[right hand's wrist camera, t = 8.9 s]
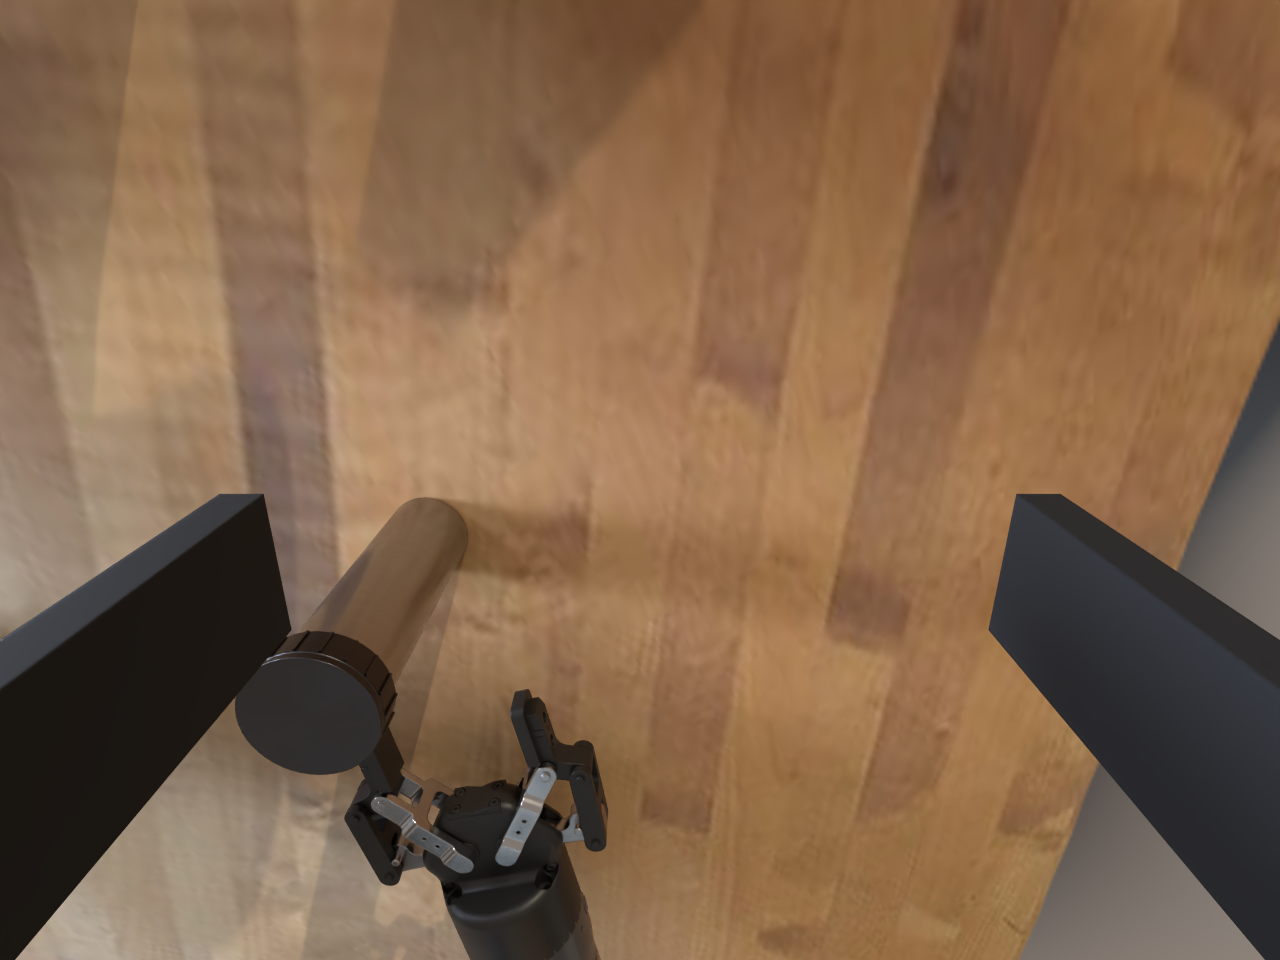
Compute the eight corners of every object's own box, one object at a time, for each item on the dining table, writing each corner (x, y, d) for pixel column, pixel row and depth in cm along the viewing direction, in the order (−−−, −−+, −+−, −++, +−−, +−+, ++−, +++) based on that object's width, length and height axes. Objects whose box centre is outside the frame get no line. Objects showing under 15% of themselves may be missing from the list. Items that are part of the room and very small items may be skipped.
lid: (379, 622, 27) (361, 649, 25) (411, 738, 29) (397, 770, 27) (239, 635, 27) (212, 663, 25) (280, 749, 29) (259, 782, 27)
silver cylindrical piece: (459, 493, 40) (357, 654, 26) (474, 563, 42) (386, 753, 27) (382, 501, 41) (236, 665, 26) (400, 570, 42) (272, 762, 28)
